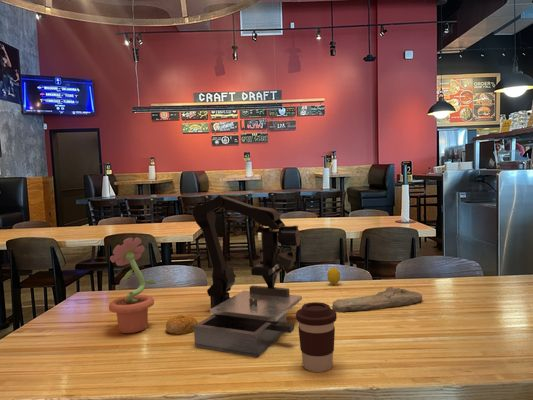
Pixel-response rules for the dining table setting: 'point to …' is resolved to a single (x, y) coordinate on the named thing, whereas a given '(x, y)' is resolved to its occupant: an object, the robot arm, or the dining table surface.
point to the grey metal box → (239, 334)
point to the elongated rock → (378, 300)
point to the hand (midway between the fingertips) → (271, 290)
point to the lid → (258, 303)
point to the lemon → (333, 275)
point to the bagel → (181, 324)
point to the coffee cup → (316, 335)
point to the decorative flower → (133, 305)
